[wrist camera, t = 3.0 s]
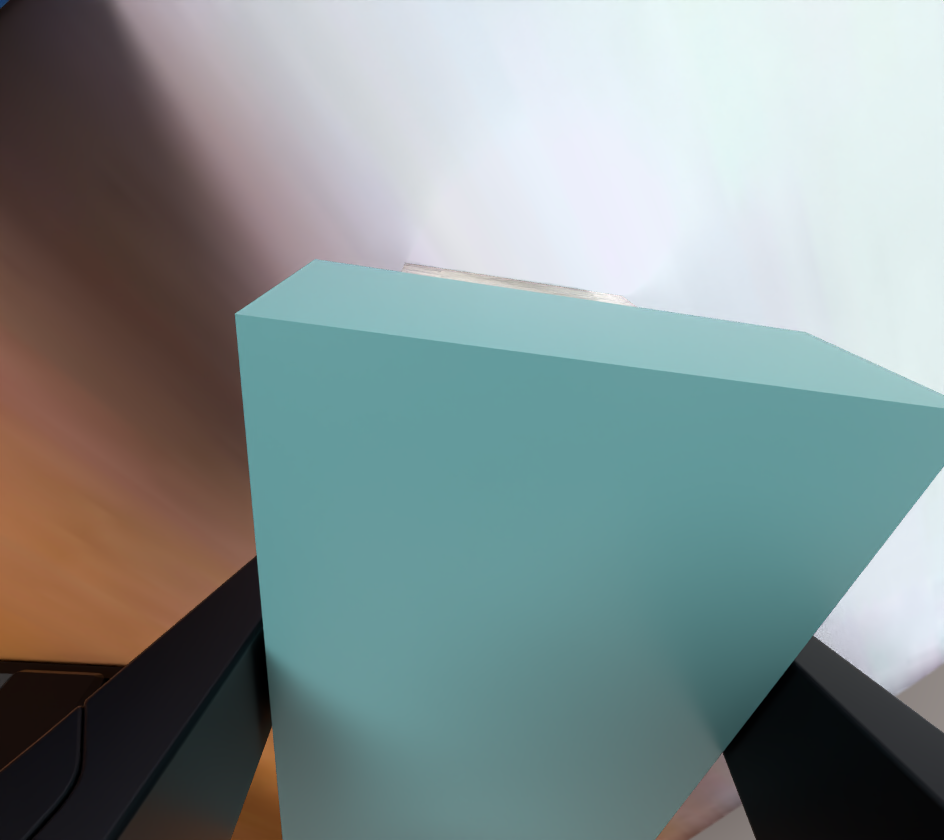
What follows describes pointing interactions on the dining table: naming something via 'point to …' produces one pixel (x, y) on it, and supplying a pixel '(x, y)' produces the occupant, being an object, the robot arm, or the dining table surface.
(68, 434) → the dining table surface
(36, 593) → the dining table surface
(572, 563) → the lid
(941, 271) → the dining table surface
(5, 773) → the robot arm
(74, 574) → the dining table surface
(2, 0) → the ink box
